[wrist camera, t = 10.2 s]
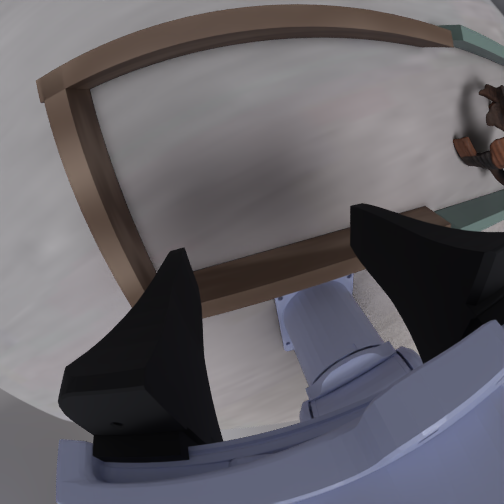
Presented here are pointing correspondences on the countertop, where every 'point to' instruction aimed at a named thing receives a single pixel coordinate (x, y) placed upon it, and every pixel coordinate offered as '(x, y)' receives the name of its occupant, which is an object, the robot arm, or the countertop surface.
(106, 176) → the brown wooden frame
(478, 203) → the frame
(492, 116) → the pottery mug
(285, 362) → the countertop surface
